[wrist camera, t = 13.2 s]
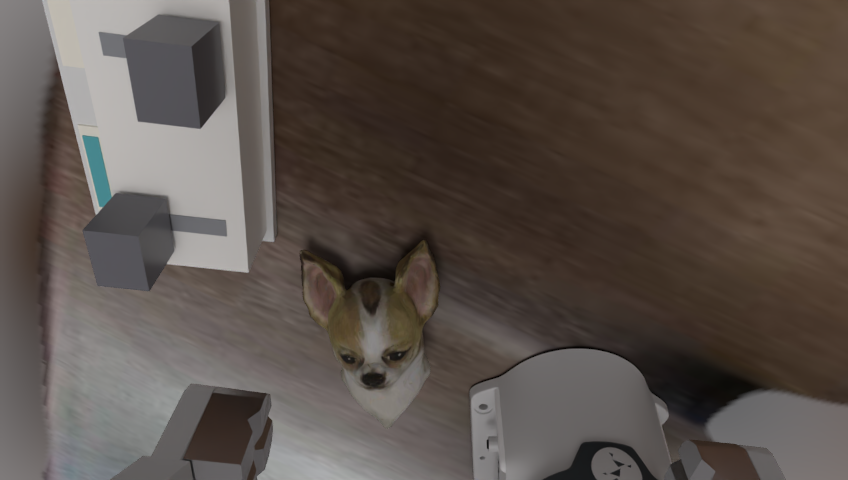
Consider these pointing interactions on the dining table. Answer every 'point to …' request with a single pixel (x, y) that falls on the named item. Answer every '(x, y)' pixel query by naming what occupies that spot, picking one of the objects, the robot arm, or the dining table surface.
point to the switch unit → (172, 145)
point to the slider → (130, 241)
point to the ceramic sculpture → (376, 328)
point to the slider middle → (176, 70)
